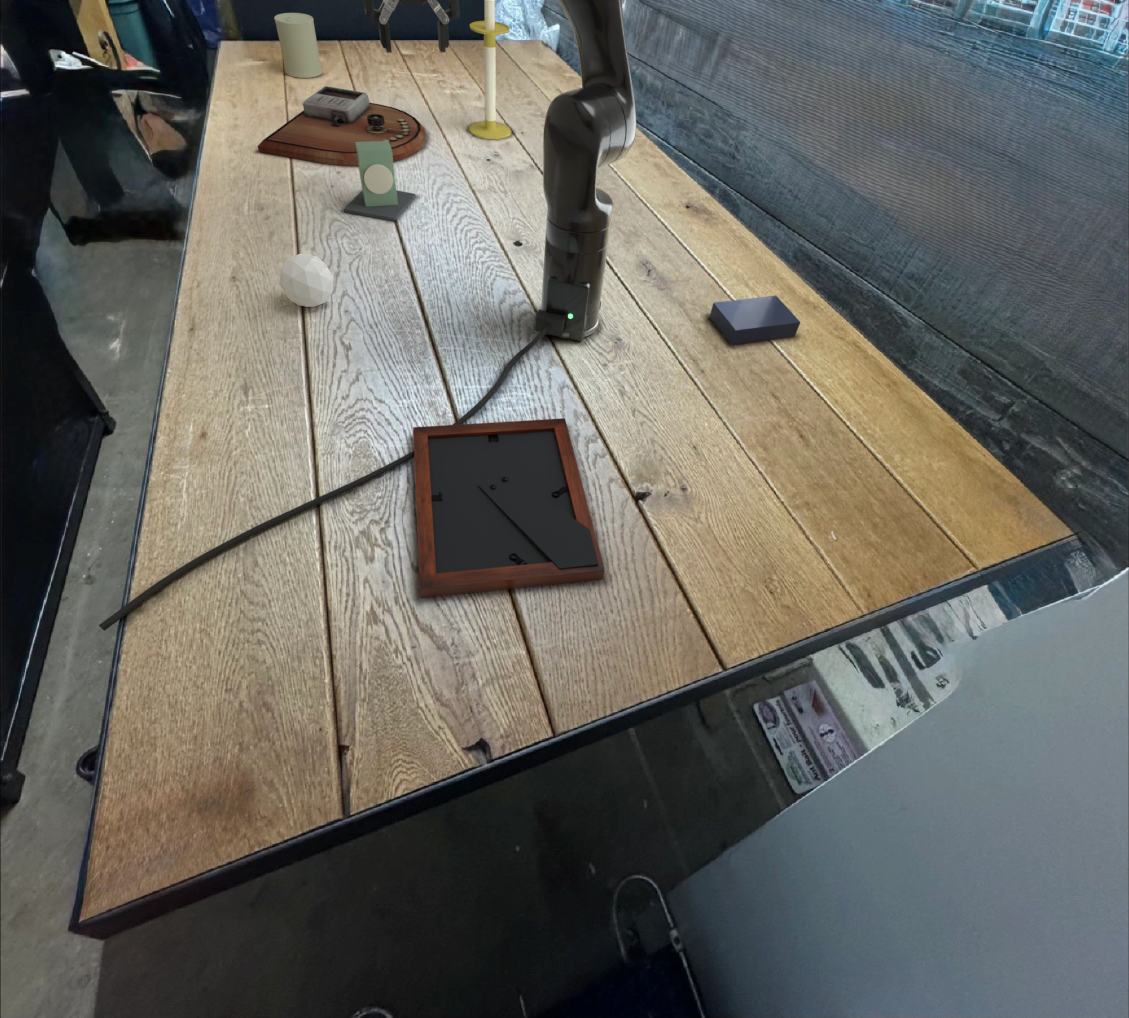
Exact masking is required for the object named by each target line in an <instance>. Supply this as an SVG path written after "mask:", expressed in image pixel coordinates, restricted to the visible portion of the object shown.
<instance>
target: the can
mask: <svg viewBox="0 0 1129 1018" xmlns="http://www.w3.org/2000/svg"><path fill="white" fill-rule="evenodd" d="M274 22H275V27H276V31H277V35H278V40H279V44H280V50H281V53H282V59H283V64H284V72H285V74H286V75H288V76H290V77H294V78H298V79H309V78H310V79H311V78H317V77H319V76H321V75H323V72H324V71H323V68H322V64H321V63H322V62H321V56H320V52H319V45H318V41H317V34H316V29H315V23H314V17H313V16H311V15H310V14H306V13H302V12H283V13H278V14H276V15H275V16H274Z"/></svg>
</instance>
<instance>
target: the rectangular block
mask: <svg viewBox="0 0 1129 1018" xmlns="http://www.w3.org/2000/svg"><path fill="white" fill-rule="evenodd" d="M709 319H710V320H711V321H712V323H713V324H714V325H715V326H716V328H717V329H718V330H719V332H720V333H721V334H722V336H723V337H724V338H725V340H726V341H728V343H729V344H730V345H731V346H734V345H742V344H749V343H756V342H764V341H770V340H778V339H787V338H793V337H796V334H797V332H798V331H799V327H800V324H801V320H799V318H797V316H796V315H795V314H794V313H793V312H792V311H791V310H790V309H789V307H787V306H786V304H785V303H784V302H783V301H782V300H781V299H780V298H779V297H778V296H777V295H768V296H761V297H760V296H758V297H751V298H741V299H734V300H724V301H717V302H713V303H712V307H711V310H710V313H709Z"/></svg>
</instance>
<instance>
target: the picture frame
mask: <svg viewBox="0 0 1129 1018" xmlns="http://www.w3.org/2000/svg"><path fill="white" fill-rule="evenodd" d="M412 433H413V434H412V437H413V451H414V457H413V459H414V481H415V505H416V507H415V508H416V529H417V551H418V553H417V554H418V574H419V575H418V577H419V591H420V598H421V599H423V598H424V599H425V598H432V597H433V598H434V597H443V596H452V595H462V594H463V595H464V594H472V593H480V592H482V593H483V592H493V591H501V590H510V589H511V590H512V589H521V588H528V587H529V588H530V587H539V586H549V585H559V584H569V583H577V582H587V581H597V580H603V579H604V576H605V571H606V570H605V565H604V562H603V558H602V553H601V549H600V547H599V543H598V539H597V535H596V531H595V527H594V524H593V519H592V516H591V512H590V509H589V505H588V501H587V497H586V492H585V488H584V485H583V482H582V478H581V474H580V470H579V466H578V463H577V460H576V455H575V450H574V447H573V443H572V440H571V435H570V432H569V429H568V424H567V420H566V417H563V418H562V417H561V418H545V419H544V418H543V419H530V420H513V421H511V420H510V421H496V422H495V421H494V422H478V423H476V422H475V423H463V424H459V425H453V424H447V425H446V424H445V425H444V424H443V425H442V424H441V425H426V426H413V427H412Z"/></svg>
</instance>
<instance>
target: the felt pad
mask: <svg viewBox="0 0 1129 1018" xmlns="http://www.w3.org/2000/svg"><path fill="white" fill-rule="evenodd" d="M396 193H397V201H398V205H387V206H370V207H366V205H365V202H364V198H363V191H362V190H361V191H359V193H358V194H357V195H356V196H355V197H354V198H353V199H352V200H351V201H350V202H349V203H348V204H347V205H346V206H345V207H344V208H343V212H344V213H349V214H354V215H358V216H363V217H368V218H373V219H380V220H385V221H391V222H396V221H397V219H398V218H399V217H400V216H401V215H402V213H404V211H405V210H406V209H407V208H408V206H409V205H410V204H411V203H412V202H413V201H414V199H415V198H416V193H413V192H408V191H403V190H397V189H396Z"/></svg>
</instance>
